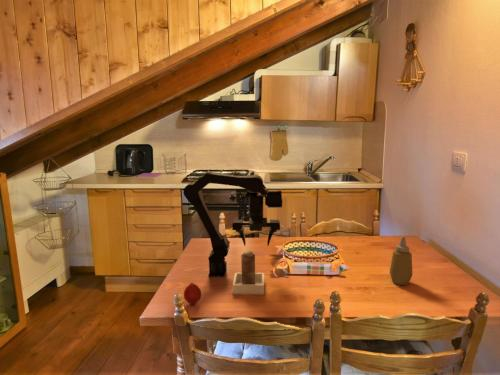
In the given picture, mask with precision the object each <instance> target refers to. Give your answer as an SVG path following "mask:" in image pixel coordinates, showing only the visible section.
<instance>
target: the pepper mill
mask: <svg viewBox="0 0 500 375" xmlns="http://www.w3.org/2000/svg"><path fill="white" fill-rule="evenodd" d="M240 258H241V260H240V261H241V262H240V264H241V273H242V284H255V273H256V256H255V253H254V252H253V251H252V250H245V251H243V253H241V256H240Z"/></svg>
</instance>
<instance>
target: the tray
mask: <svg viewBox="0 0 500 375" xmlns="http://www.w3.org/2000/svg"><path fill="white" fill-rule="evenodd" d="M232 295H244V296H245V295H246V296H247V295H255V296H257V295H258V296H263V295H265V272H255V284H242V272H234V277H233V281H232Z"/></svg>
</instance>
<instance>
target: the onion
mask: <svg viewBox="0 0 500 375" xmlns="http://www.w3.org/2000/svg"><path fill="white" fill-rule="evenodd" d="M201 291H202V290H201V288H200V286H198V285H197V284H195V283H194V282H190V284H188V285H187V286H186V287H185V289H184V292H183V298H184V300H185V301H186V302H187V303H188V304H190V305H192V306H194V305H195V304H197V303H198V302H199V301H200V299H201V297H202V292H201Z"/></svg>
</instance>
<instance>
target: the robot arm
mask: <svg viewBox="0 0 500 375" xmlns="http://www.w3.org/2000/svg"><path fill="white" fill-rule="evenodd" d="M208 184H216V185H222V186H223V185H224V186H233V187H237V188H241V189H244V190H245V191H246V190H247V191H246V192H245V193H244V195H243V198H248V221H246V222H244V219H234V220H233V221H232V225H231V227H232V228H231V229H232V230H233V231H235V232H236V233H239V235H240V237H241V240H242V243H243V246H244V247H246V244H247V243H246V242H247V241H246V234H245V228H249V231H250V232H254V231H257V232H261V231H263V228H268V234H267V243H266V244H267V247H269V245H270V242H271V240H272V236H273V234H275V233H276V232H277V231H281V221H280V220H279V219H270V220H269V222H268V218H267V217H264V206H266V207H267V208H269V209H271V208H272V209H273V208H275V209H276V208H277V209H280V208H281V209H282V208H283V198H282V197H283V194H282V193H283V192H282V190H281V189H280V190H279V189H277V190H269V189H268V188H267V187H266V185H265V184H264V179H263V178H262V177H261V176H260V175H258V174H251V175H242V176H241V175H233V174H226V173H225V174H224V173H216V172H211V171H207V172H206V173H204V175H203V176H202V177H200V178H199V179H197V181H195V182H194V181H192V182H189V183H188V184H187V185H186V186H184V188H183V192H182V193H183V196H184V198H186V200H187V201H188V203H189V204H190V205H192V206H193V207H194V209H195V211H196V213H197V216H199V219H200V220H201V223H202V225H203V227H204V229H205V231H206V233H207V235H208V237H209V239H210V244H211V248H212V249H211V251H210V254H209V256H208V257H207V258H208V270H209V271H208V272H209V273H208V277H225V276H226V274H227V272H228V268H227V267H228V266H227V263H228V262H227V261H226V257H227V256H228V254H229V250H230V243H231V242H230V240H229V239H228V237H227V234H226V233H225V234H222V233H221V232H220V231H219V229H218V227H217V225H216V223H215V221H214V219H213V217H212V215H211V213H210V211H209V209H208V207H207V205H206V203H205V200H204V199H205V198H204V195H203V191H202V190H203V189H204V188H205V187H206V186H208Z"/></svg>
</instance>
